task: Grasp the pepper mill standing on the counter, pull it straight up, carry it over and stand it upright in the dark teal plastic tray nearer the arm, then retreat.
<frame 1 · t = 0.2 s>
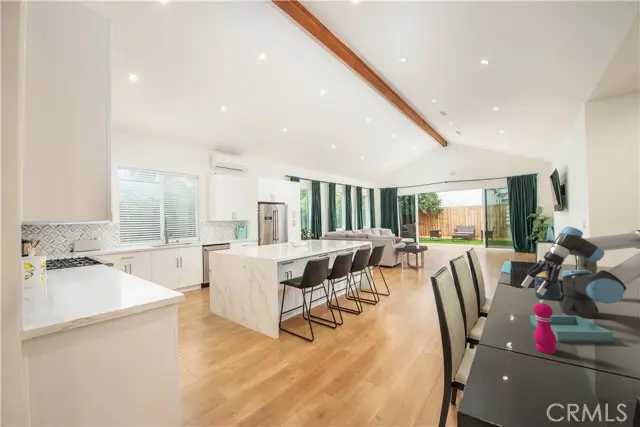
hand: (531, 290, 140), 16 cm above the table, tool tilted 35°, fingers open, 13 cm apart
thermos: (589, 297, 173), on the table
tray: (568, 332, 125), on the table
canister: (548, 298, 177), on the table
pepper mill: (545, 350, 111), on the table
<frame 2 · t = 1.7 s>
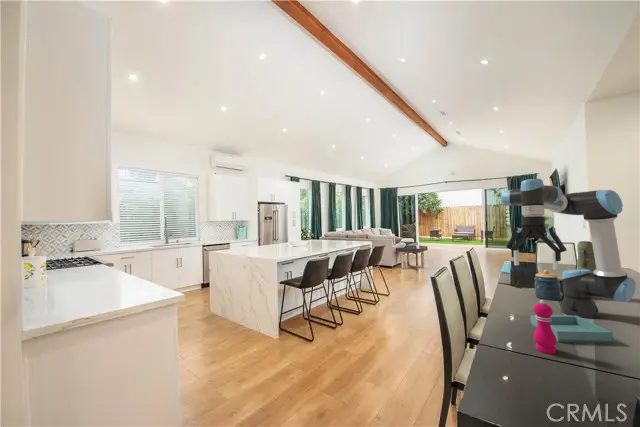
hand: (535, 267, 115), 33 cm above the table, tool pointing down, fingers open, 13 cm apart
nothing on the table moved.
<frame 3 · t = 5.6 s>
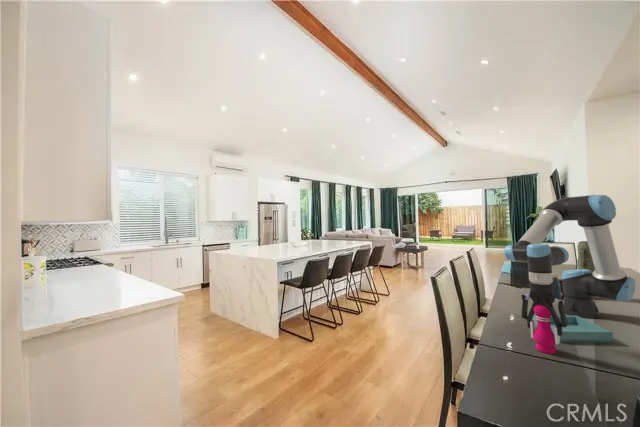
hand: (545, 339, 111), 4 cm above the table, tool pointing down, fingers closed on pepper mill, 7 cm apart
pepper mill: (545, 350, 111), on the table, touching gripper
everything else where it was.
when the fingers open (7 cm above the table, at t = 12.8 s): pepper mill drops 1 cm, resting on tray.
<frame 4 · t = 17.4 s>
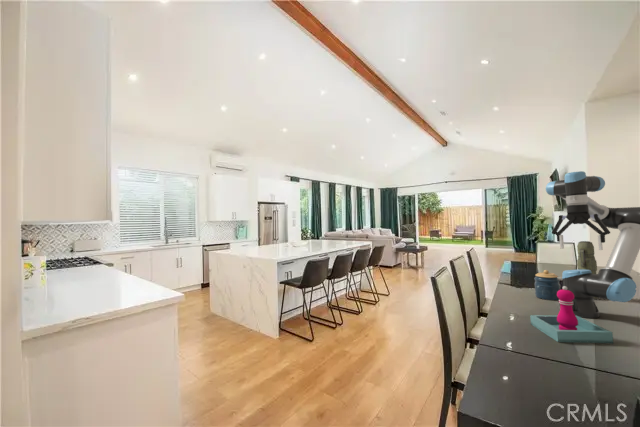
hand: (580, 249, 131), 37 cm above the table, tool pointing down, fingers open, 13 cm apart
pepper mill: (568, 331, 125), point 1 cm above the table, touching tray
everything else where it was.
at the end: pepper mill inside the target area on the tray (0.0 cm from its centre), point 0.8 cm above the tray's base; pepper mill tilted 0°; the gripper is holding nothing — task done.
